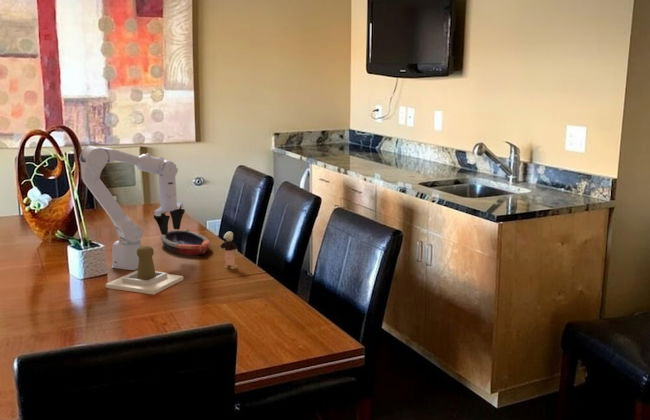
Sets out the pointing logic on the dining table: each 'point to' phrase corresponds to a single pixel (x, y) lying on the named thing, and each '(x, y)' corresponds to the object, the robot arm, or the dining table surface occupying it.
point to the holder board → (145, 282)
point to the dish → (185, 242)
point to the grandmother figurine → (229, 250)
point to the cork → (145, 263)
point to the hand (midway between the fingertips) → (170, 231)
